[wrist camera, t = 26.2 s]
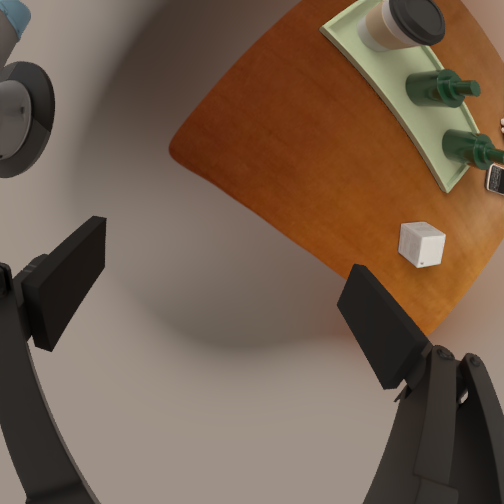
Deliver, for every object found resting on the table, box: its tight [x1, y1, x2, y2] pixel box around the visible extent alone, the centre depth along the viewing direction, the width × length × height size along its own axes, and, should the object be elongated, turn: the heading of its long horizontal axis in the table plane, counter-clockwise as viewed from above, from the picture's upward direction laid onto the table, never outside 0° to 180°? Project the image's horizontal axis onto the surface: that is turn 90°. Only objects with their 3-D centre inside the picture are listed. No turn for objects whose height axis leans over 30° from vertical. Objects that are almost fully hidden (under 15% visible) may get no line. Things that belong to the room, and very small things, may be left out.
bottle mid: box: [405, 69, 480, 108], centre depth 32 cm, size 6×6×14 cm
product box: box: [398, 222, 446, 268], centre depth 48 cm, size 6×6×7 cm
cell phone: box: [485, 164, 504, 195], centre depth 47 cm, size 6×11×1 cm, turn 86°
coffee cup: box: [357, 0, 445, 52], centre depth 28 cm, size 9×9×15 cm
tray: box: [319, 0, 480, 193], centre depth 38 cm, size 38×16×2 cm, turn 46°
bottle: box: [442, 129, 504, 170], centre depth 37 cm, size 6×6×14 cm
